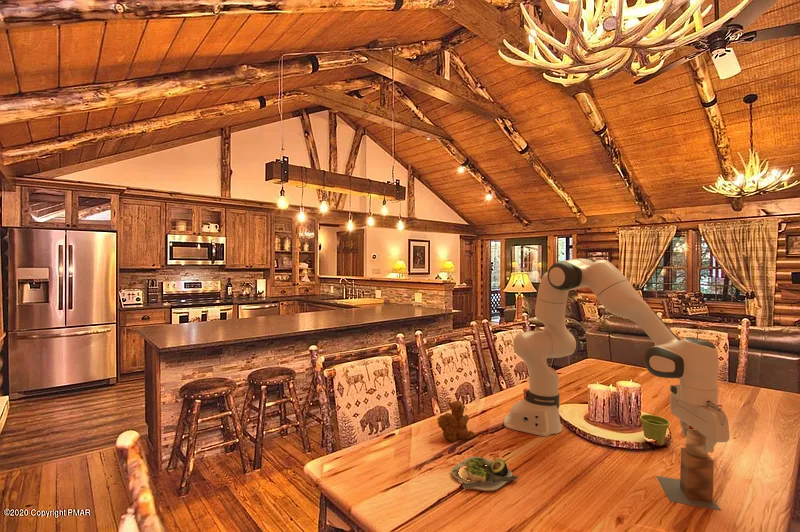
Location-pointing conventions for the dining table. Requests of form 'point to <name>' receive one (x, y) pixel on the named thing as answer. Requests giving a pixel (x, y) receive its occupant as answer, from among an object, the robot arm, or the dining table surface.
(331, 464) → the dining table surface
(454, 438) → the stuffed squirrel
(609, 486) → the dining table surface
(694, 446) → the birch round
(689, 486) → the tower base
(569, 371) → the dining table surface
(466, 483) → the salad plate
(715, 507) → the felt mat
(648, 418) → the plant pot
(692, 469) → the tower top
